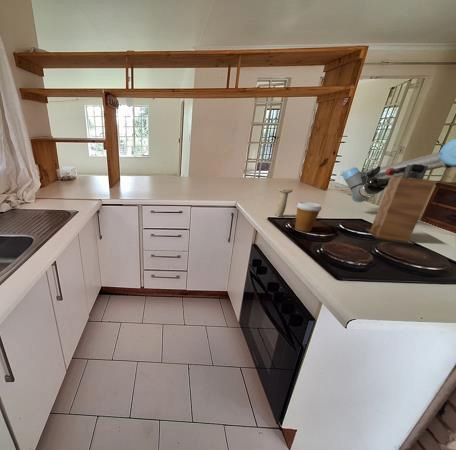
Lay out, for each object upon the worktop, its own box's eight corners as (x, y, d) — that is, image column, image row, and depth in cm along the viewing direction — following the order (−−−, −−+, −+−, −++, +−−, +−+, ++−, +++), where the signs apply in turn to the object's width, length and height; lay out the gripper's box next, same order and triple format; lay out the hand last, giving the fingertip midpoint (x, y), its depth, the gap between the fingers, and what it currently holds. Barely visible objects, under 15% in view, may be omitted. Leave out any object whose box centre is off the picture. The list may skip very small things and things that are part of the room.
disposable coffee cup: (310, 234, 102) (317, 208, 98) (287, 228, 109) (293, 203, 105) (318, 230, 108) (325, 205, 104) (296, 224, 114) (302, 200, 110)
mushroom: (274, 213, 130) (280, 187, 125) (286, 216, 127) (293, 189, 122) (271, 215, 127) (277, 188, 122) (284, 218, 123) (291, 190, 118)
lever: (382, 175, 111) (385, 168, 110) (392, 176, 110) (394, 168, 109) (411, 172, 91) (414, 162, 90) (423, 172, 90) (426, 163, 89)
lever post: (364, 231, 109) (390, 163, 98) (397, 236, 105) (428, 165, 94) (375, 240, 98) (405, 165, 88) (412, 246, 94) (449, 168, 84)
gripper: (402, 197, 117) (436, 181, 98) (342, 191, 126) (362, 175, 106) (404, 183, 118) (437, 164, 99) (344, 178, 127) (364, 160, 108)
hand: (398, 170), depth 103 cm, fingers open, 13 cm apart
